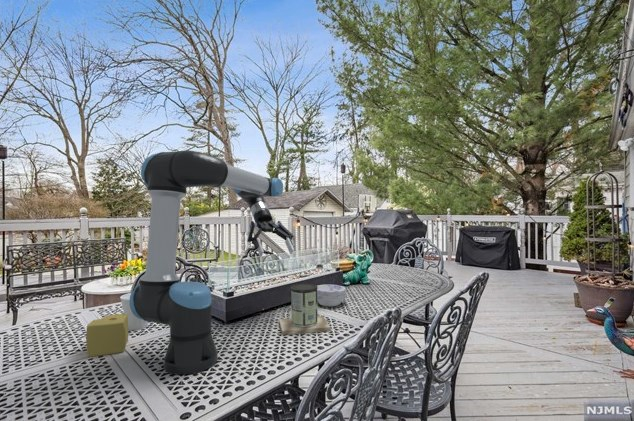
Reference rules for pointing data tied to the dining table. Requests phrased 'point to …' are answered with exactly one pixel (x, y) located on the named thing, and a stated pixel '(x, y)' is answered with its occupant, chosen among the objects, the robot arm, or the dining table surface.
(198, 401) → the dining table surface
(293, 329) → the plain beige board
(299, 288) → the coffee can
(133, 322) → the cup
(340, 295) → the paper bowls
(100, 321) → the cheese
